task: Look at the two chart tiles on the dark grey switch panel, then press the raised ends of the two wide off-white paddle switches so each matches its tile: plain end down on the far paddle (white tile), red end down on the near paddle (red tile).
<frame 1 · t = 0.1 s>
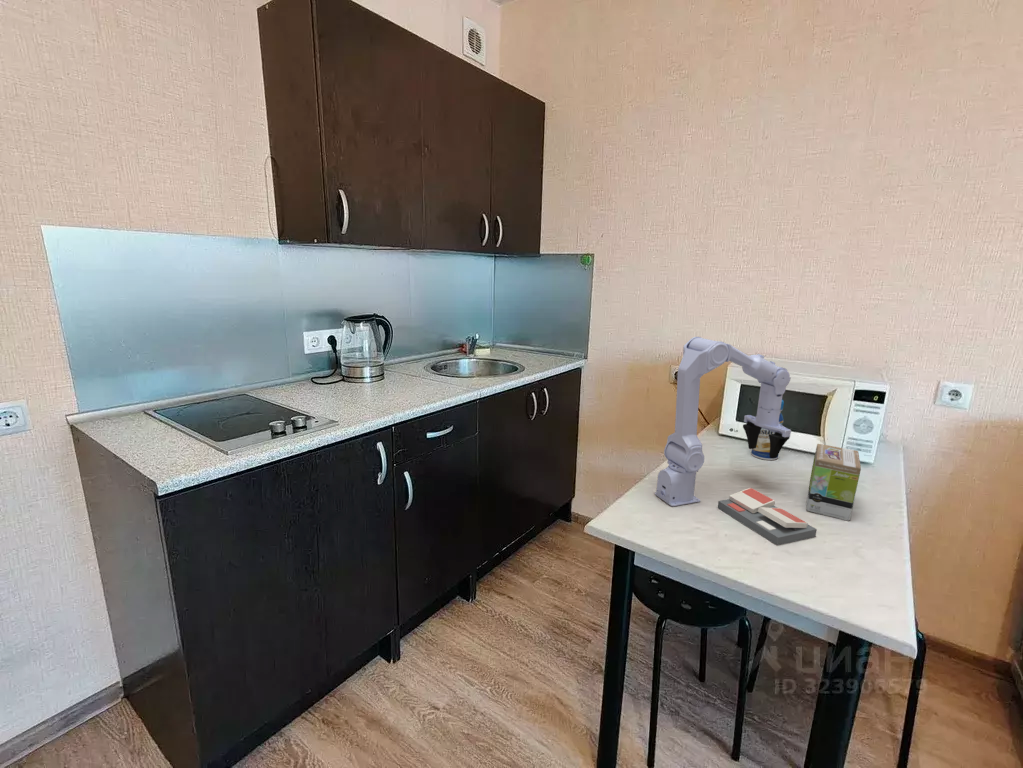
hand: (762, 452, 144), 10 cm above the table, tool pointing down, fingers open, 7 cm apart
switch panel: (763, 521, 125), on the table
rocker 2: (782, 517, 120), point 3 cm above the table, hinge at 11.0°
tea box: (827, 506, 134), on the table
rocker 1: (751, 500, 129), point 3 cm above the table, hinge at -11.0°
beverage bottle: (764, 456, 168), on the table
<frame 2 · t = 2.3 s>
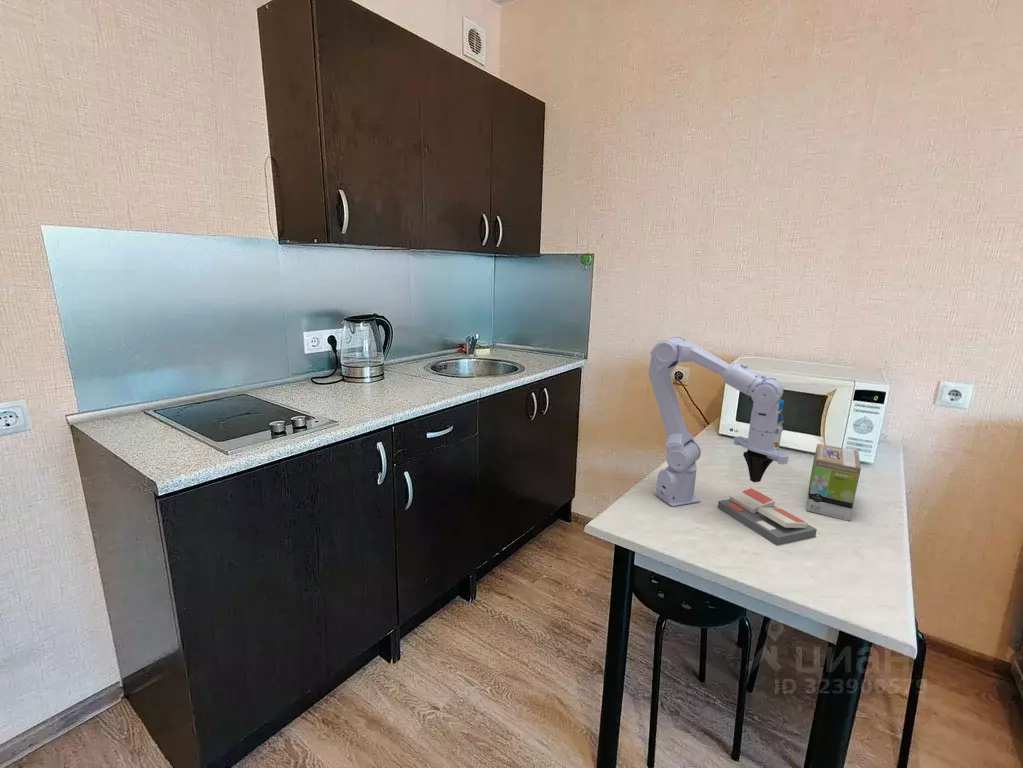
hand: (755, 480, 124), 10 cm above the table, tool pointing down, fingers closed
nothing on the table moved.
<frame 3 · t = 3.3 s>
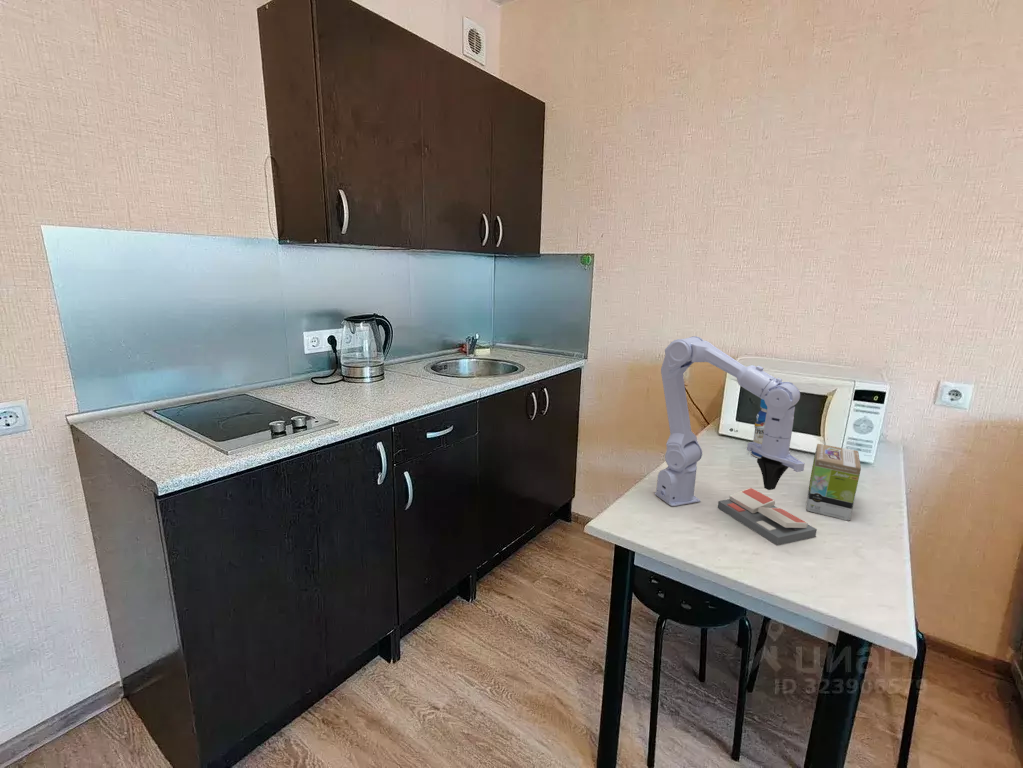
hand: (769, 488, 119), 11 cm above the table, tool pointing down, fingers closed
nothing on the table moved.
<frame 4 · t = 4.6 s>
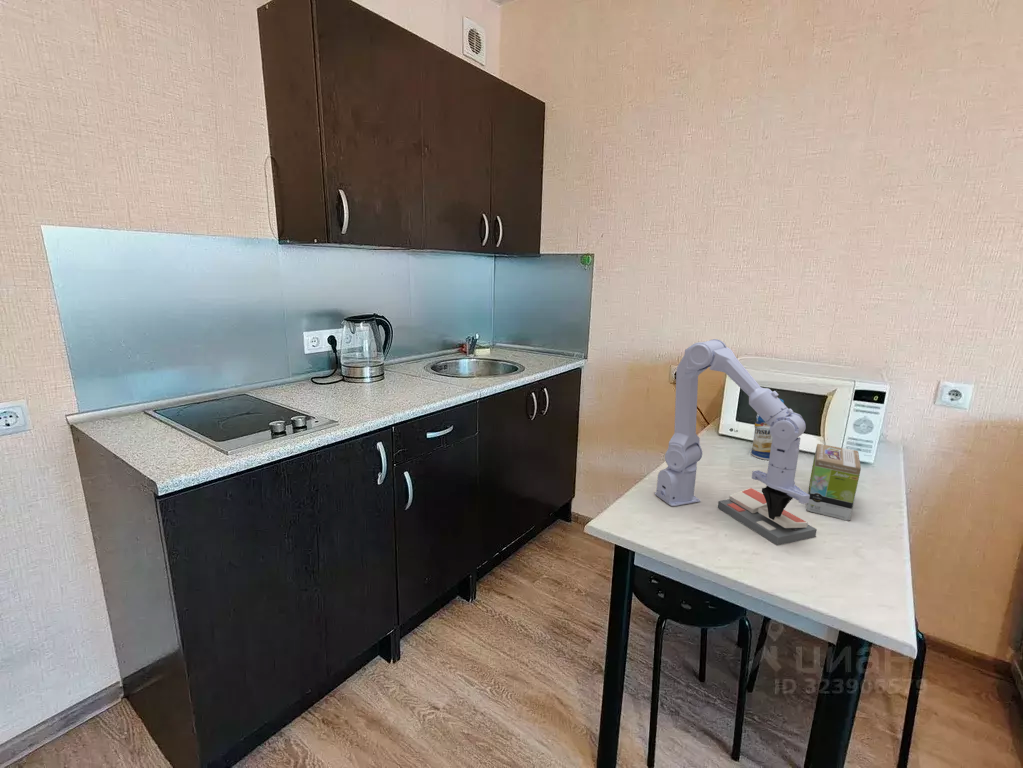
hand: (774, 518, 119), 4 cm above the table, tool pointing down, fingers closed, pressing on rocker 2
rocker 2: (782, 517, 120), point 3 cm above the table, hinge at 8.8°, touching gripper
everything else where it was.
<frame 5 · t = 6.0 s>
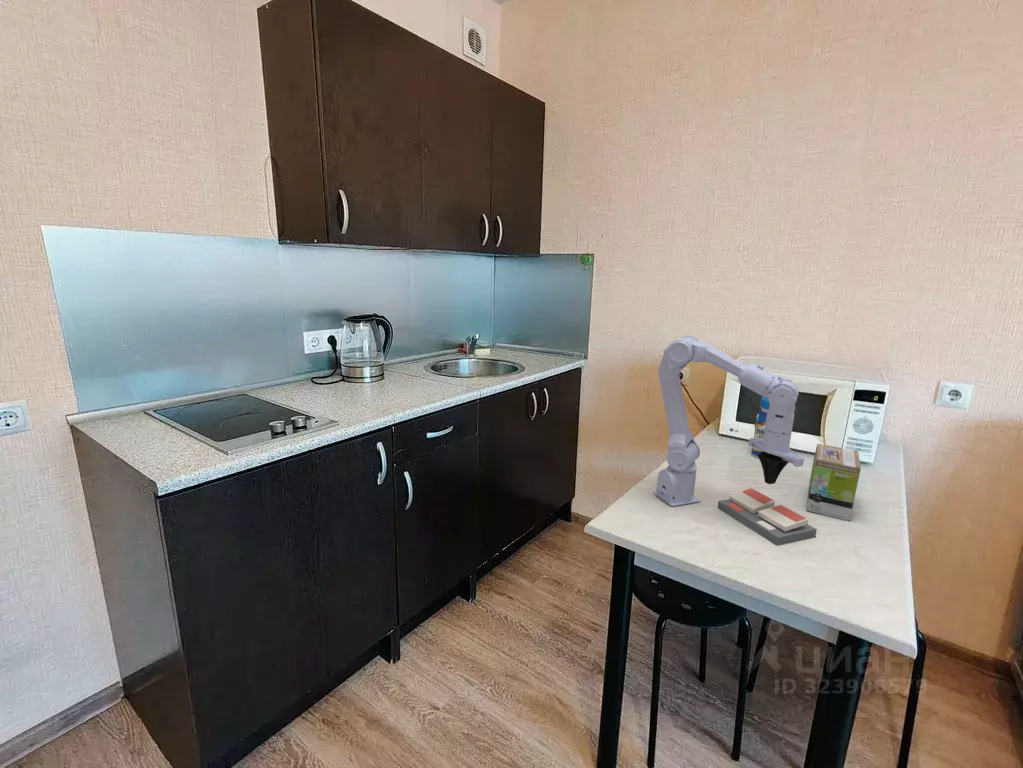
hand: (769, 482, 123), 10 cm above the table, tool pointing down, fingers closed
rocker 2: (782, 517, 120), point 3 cm above the table, hinge at -6.5°
everything else where it was.
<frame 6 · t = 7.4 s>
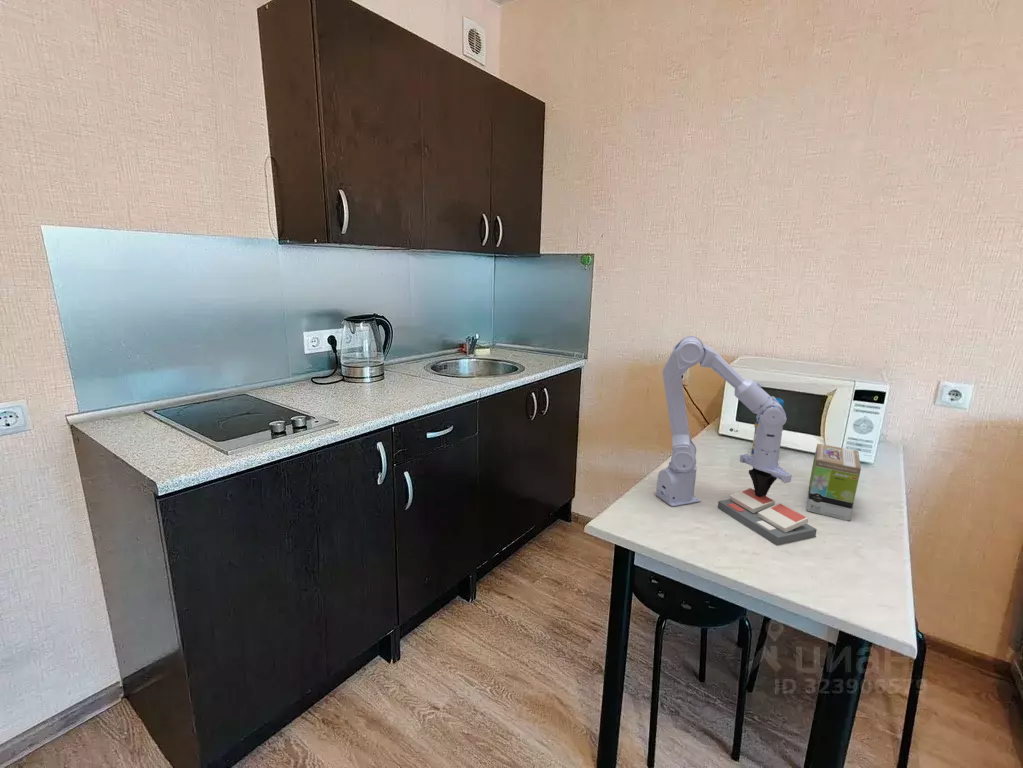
hand: (760, 497, 130), 4 cm above the table, tool pointing down, fingers closed, pressing on rocker 1
rocker 2: (782, 517, 120), point 3 cm above the table, hinge at -12.0°
rocker 1: (751, 499, 129), point 3 cm above the table, hinge at -9.0°, touching gripper
everything else where it was.
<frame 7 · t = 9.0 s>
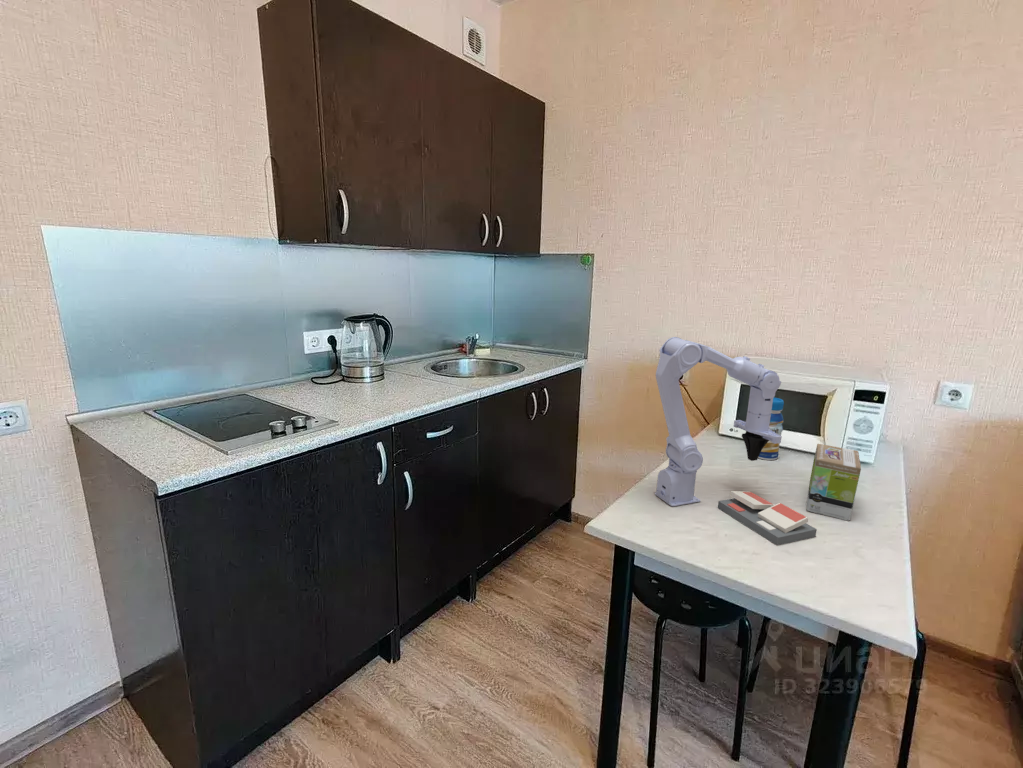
hand: (752, 459, 137), 10 cm above the table, tool pointing down, fingers closed
rocker 2: (782, 517, 120), point 3 cm above the table, hinge at -14.1°, touching switch panel
rocker 1: (751, 499, 129), point 3 cm above the table, hinge at 10.4°
everything else where it was.
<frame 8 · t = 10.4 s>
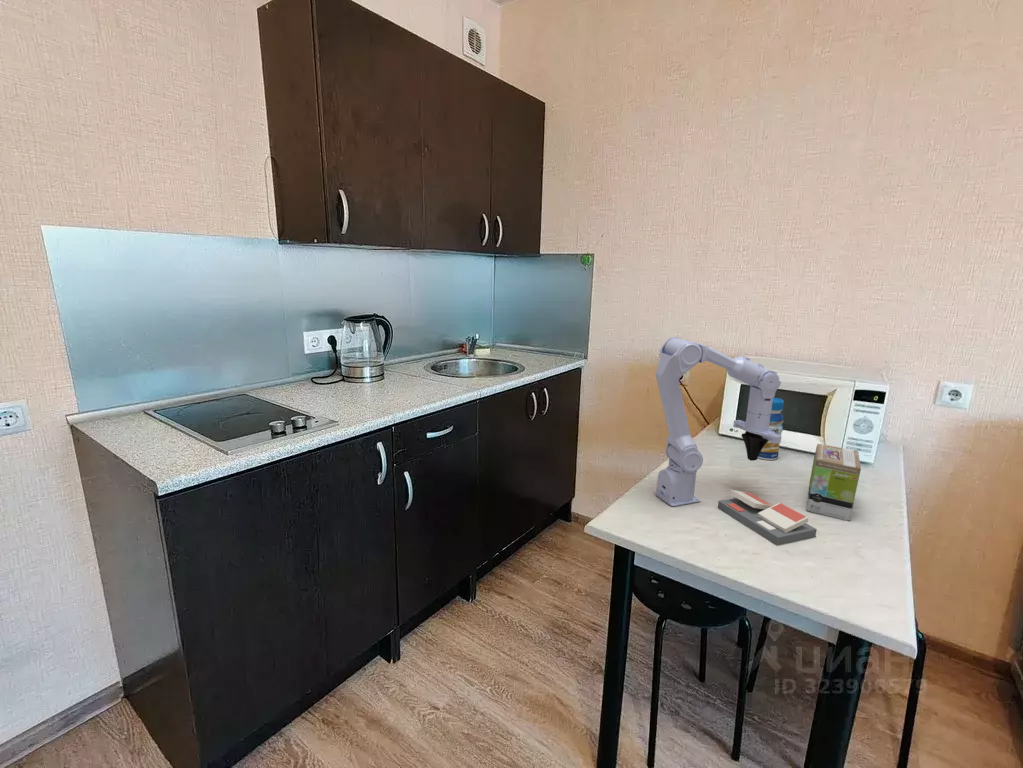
hand: (752, 459, 137), 10 cm above the table, tool pointing down, fingers closed
rocker 2: (782, 517, 120), point 3 cm above the table, hinge at -14.7°, touching switch panel
rocker 1: (751, 499, 129), point 3 cm above the table, hinge at 15.9°, touching switch panel
everything else where it was.
at the end: rocker 1 at +16° (first picture: -11°); rocker 2 at -15° (first picture: +11°) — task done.
